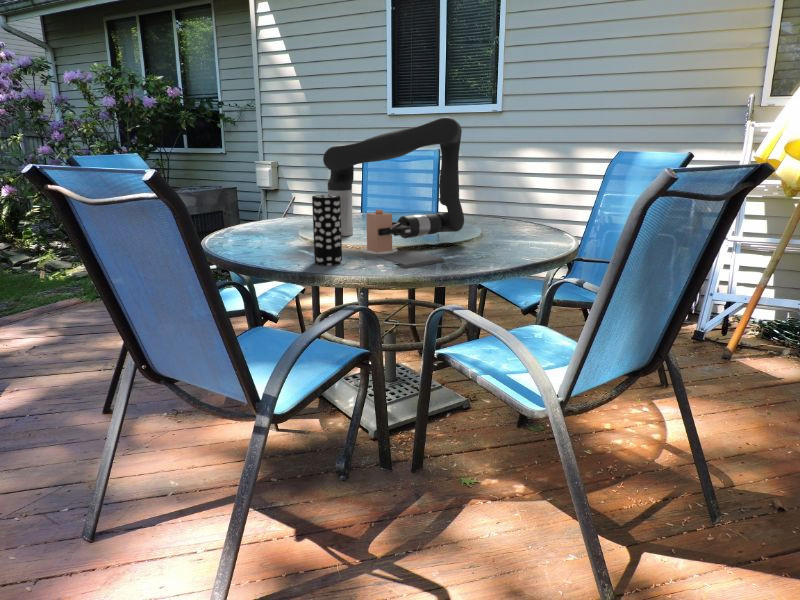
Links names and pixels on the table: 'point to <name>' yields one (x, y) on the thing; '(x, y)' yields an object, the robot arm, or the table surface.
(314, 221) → the spotted tube
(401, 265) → the mat
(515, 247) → the table surface
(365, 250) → the saucer
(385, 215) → the tan capped carton
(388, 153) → the robot arm
